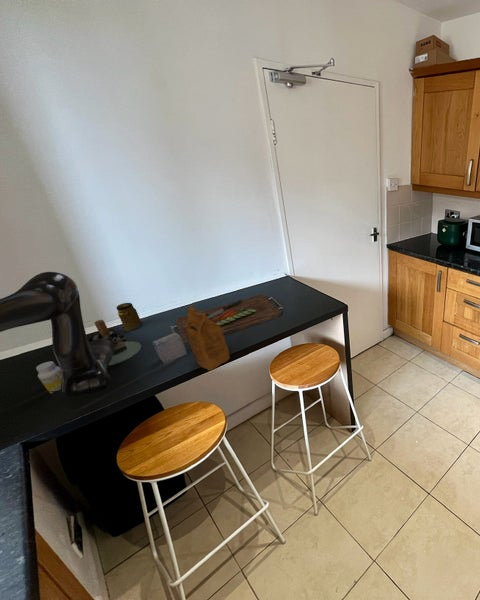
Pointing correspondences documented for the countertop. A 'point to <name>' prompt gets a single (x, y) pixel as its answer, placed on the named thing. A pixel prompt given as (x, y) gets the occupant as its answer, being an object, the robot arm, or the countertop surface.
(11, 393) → the countertop surface
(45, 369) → the supplement bottle
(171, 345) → the medicine box
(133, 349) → the turntable plate
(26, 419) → the countertop surface
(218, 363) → the coffee package
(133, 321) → the condiment
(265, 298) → the chopping board
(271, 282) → the countertop surface
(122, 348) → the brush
